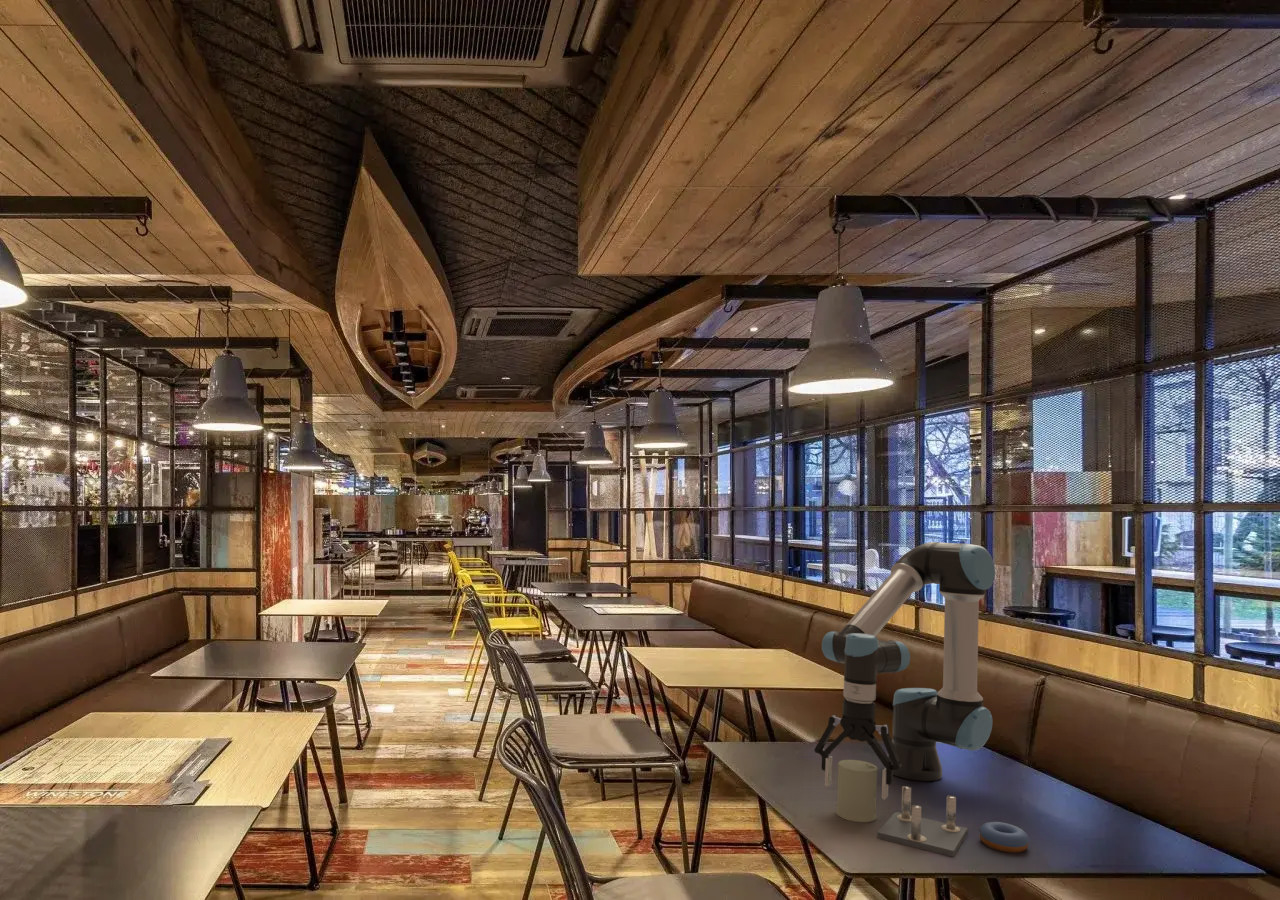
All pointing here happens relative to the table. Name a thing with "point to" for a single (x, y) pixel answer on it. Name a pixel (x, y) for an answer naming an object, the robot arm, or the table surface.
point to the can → (856, 790)
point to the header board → (924, 835)
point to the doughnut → (1003, 837)
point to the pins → (916, 813)
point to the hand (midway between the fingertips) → (855, 791)
